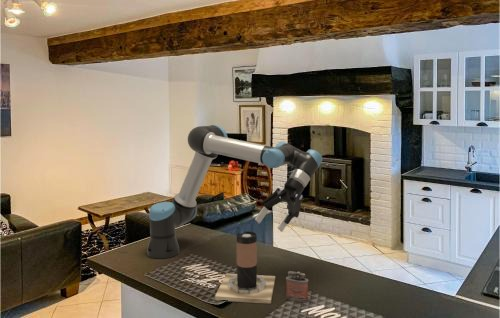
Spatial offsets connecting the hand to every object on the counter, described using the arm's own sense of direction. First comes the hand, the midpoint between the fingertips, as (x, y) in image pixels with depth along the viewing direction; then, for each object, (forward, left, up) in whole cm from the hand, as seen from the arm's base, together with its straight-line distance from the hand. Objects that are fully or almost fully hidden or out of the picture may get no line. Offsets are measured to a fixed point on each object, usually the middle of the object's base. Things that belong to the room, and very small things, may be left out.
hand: (267, 225), depth 155 cm
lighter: (+13, +12, -23) cm, 29 cm away
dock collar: (+8, -7, -21) cm, 24 cm away
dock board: (+8, -7, -23) cm, 25 cm away
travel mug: (+8, -7, -22) cm, 24 cm away
